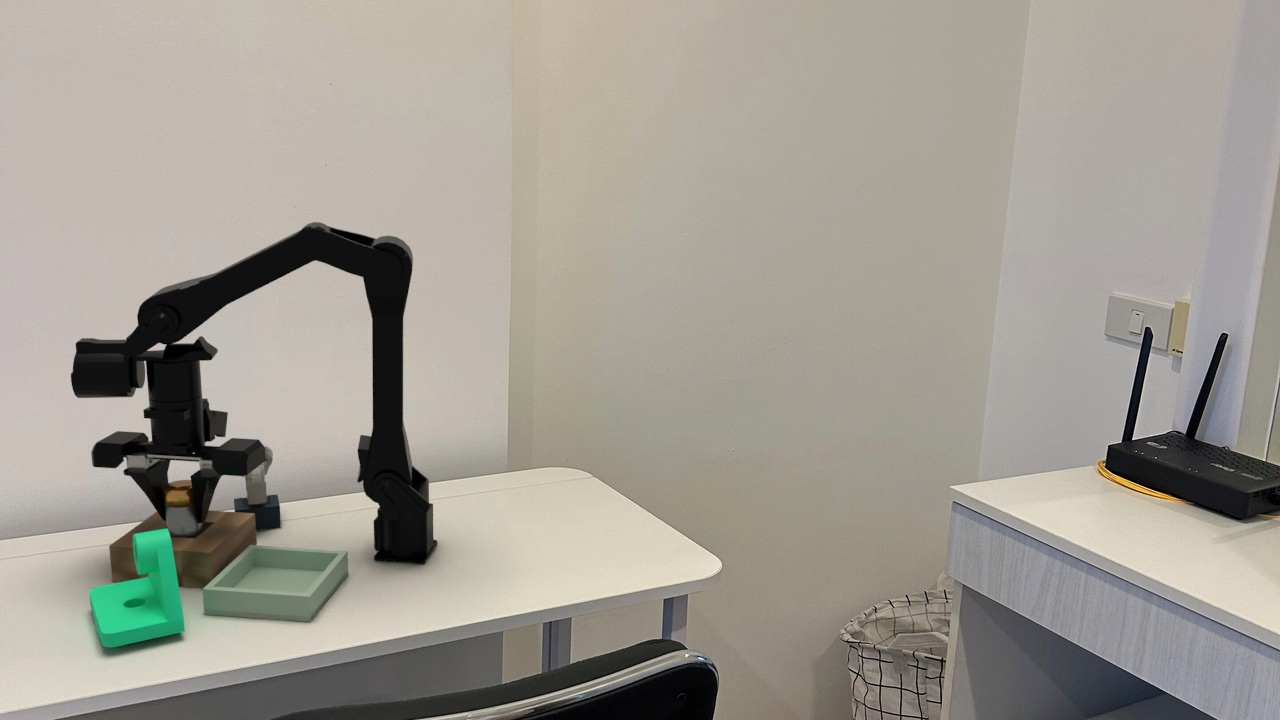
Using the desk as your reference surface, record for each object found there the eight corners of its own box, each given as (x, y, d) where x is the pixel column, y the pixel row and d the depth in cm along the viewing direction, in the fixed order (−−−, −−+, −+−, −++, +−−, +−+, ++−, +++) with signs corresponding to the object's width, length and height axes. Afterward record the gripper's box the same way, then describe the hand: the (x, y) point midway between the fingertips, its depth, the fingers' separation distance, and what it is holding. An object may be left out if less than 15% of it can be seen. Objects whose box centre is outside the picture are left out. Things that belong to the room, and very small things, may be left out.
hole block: (256, 546, 134) (254, 513, 133) (212, 588, 122) (209, 552, 121) (165, 540, 135) (162, 507, 134) (112, 581, 123) (109, 545, 122)
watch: (277, 510, 145) (273, 434, 143) (281, 532, 138) (278, 453, 136) (233, 515, 143) (229, 438, 141) (236, 538, 136) (231, 457, 134)
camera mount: (90, 610, 117) (81, 523, 114) (164, 595, 121) (158, 510, 118) (104, 659, 107) (95, 565, 104) (185, 640, 111) (178, 550, 109)
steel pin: (211, 557, 130) (206, 481, 128) (195, 571, 126) (189, 492, 124) (179, 555, 130) (174, 479, 128) (163, 569, 127) (156, 490, 124)
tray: (348, 574, 127) (347, 551, 126) (310, 621, 115) (309, 596, 115) (251, 567, 128) (250, 544, 127) (204, 614, 116) (202, 589, 116)
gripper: (281, 382, 131) (286, 501, 134) (135, 374, 132) (145, 492, 135) (241, 407, 120) (248, 535, 123) (83, 398, 121) (95, 525, 125)
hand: (184, 520), depth 127 cm, fingers closed on steel pin, 4 cm apart
